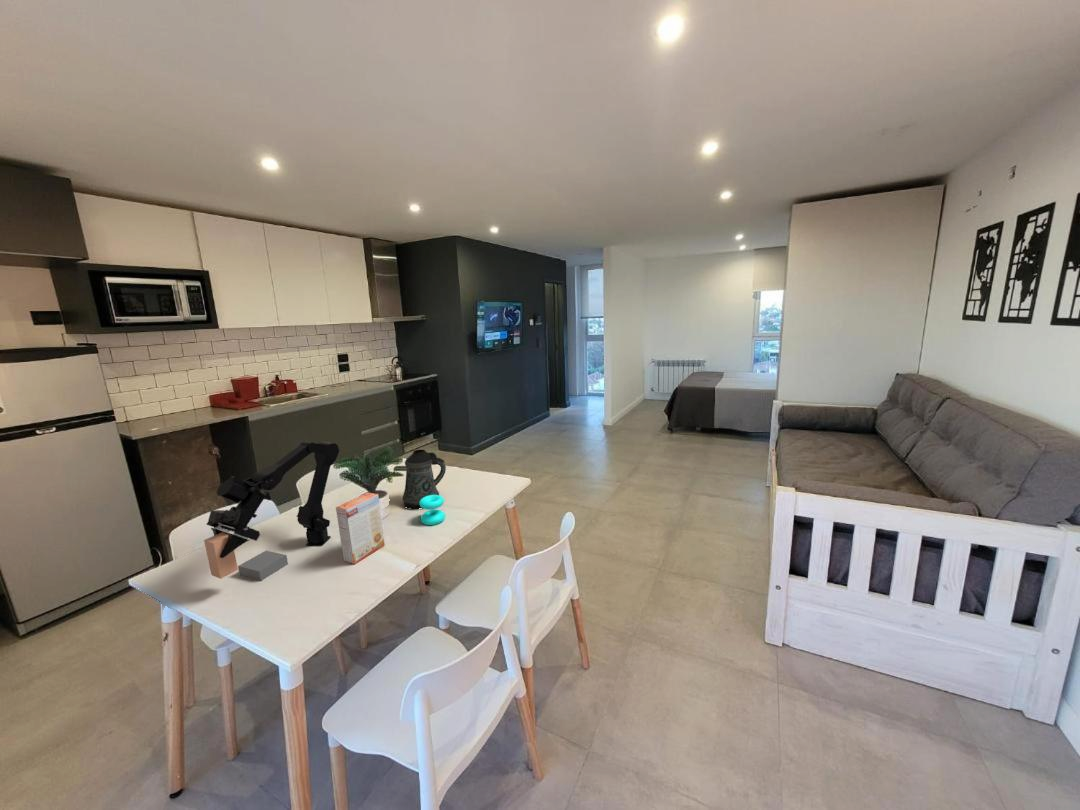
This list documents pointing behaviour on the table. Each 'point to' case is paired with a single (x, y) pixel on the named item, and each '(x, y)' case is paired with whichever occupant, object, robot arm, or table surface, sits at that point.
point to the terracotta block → (217, 564)
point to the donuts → (430, 504)
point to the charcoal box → (263, 565)
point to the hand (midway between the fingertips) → (216, 555)
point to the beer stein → (421, 477)
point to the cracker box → (360, 527)
